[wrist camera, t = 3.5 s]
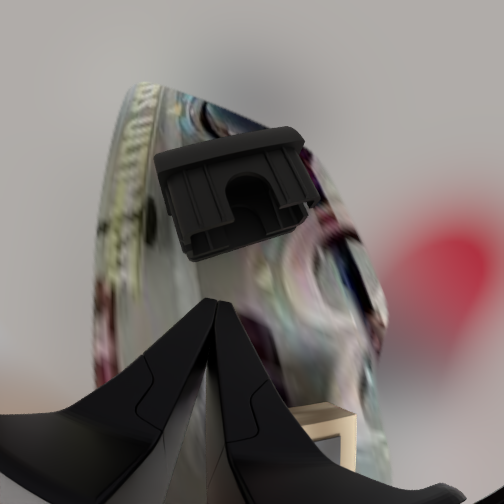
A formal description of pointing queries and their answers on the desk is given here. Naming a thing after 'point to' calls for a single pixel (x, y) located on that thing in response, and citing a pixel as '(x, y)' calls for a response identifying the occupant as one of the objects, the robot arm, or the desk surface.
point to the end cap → (235, 190)
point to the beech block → (330, 431)
